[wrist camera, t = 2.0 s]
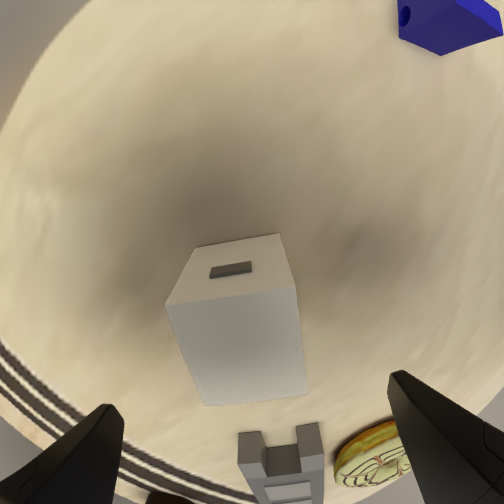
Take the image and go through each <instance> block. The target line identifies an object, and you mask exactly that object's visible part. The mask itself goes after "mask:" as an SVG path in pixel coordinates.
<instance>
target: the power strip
mask: <svg viewBox="0 0 504 504" xmlns="http://www.w3.org/2000/svg"><path fill="white" fill-rule="evenodd" d="M296 432H297V439H298V444H295V445H288V446H281V447H273V448H266V447H265V444H264V441H263V438H262V435H261V432H260V431H259V432H249V433H239V437H238V466H239V468H240V470H241V472H242V474H243V475H244V477H245V479H246V481H247V483H248V484H249V486H250V488H251V490H252V492H253V493H254V495H255V497H256V498H257V500H258V502H259V503H260V504H323V494H324V451H323V446H322V441H321V436H320V431H319V426H318V423H314V424H308V425H302V426H296Z"/></svg>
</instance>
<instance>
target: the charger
mask: <svg viewBox="0 0 504 504" xmlns="http://www.w3.org/2000/svg"><path fill="white" fill-rule="evenodd" d="M164 306H165V309H166V312H167V315H168V318H169V320H170V323H171V326H172V329H173V331H174V334H175V336H176V339H177V342H178V344H179V347H180V349H181V352H182V354H183V357H184V359H185V362H186V364H187V366H188V369H189V371H190V374H191V376H192V378H193V381H194V383H195V385H196V387H197V390H198V392H199V394H200V396H201V399H202V401H203V403H204V405H205V406H218V405H231V404H241V403H251V402H260V401H267V400H275V399H282V398H288V397H294V396H300V395H306V394H308V391H307V381H306V371H305V361H304V352H303V343H302V335H301V326H300V318H299V310H298V302H297V294H296V287H295V283H294V280H293V276H292V273H291V270H290V267H289V263H288V260H287V257H286V254H285V251H284V247H283V244H282V241H281V238H280V235H279V233H277V234H271V235H266V236H260V237H254V238H248V239H243V240H237V241H231V242H226V243H220V244H215V245H209V246H204V247H198V248H195V249H194V251H193V253H192V255H191V256H190V258H189V260H188V262H187V264H186V266H185V267H184V269H183V271H182V273H181V275H180V277H179V279H178V280H177V282H176V284H175V286H174V288H173V290H172V292H171V294H170V296H169V298H168V299H167V301H166V303H165V305H164Z"/></svg>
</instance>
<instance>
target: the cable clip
mask: <svg viewBox="0 0 504 504" xmlns="http://www.w3.org/2000/svg"><path fill="white" fill-rule="evenodd" d="M397 2H398V20H399V38H400V39H403V40H406V41H408V42H411V43H413V44H415V45H418V46H420V47H422V48H425V49H427V50H429V51H431V52H433V53H435V54H438V55H440V56H442V55H445V54H448V53H450V52H453V51H456V50H459V49H461V48H464V47H467V46H470V45H473V44H476V43H479V42H483V41H486V40H489V39H492V38H496V37H499V36H503V35H504V34H503V29H502V24H501V19H500V14H499V11H497V10H496V9H495V8H493V7H492V6H491V5H489V4H488V3H487V2H485V1H484V0H397Z"/></svg>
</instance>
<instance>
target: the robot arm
mask: <svg viewBox="0 0 504 504" xmlns="http://www.w3.org/2000/svg"><path fill="white" fill-rule="evenodd" d="M387 395H388V399H389V402H390V406H391V409H392V413H393V416H394V420H395V423H396V427H397V431H398V434H399V437H400V440H401V442H402V445H403V447H404V450H405V452H406V454H407V457H408V459H409V462H410V465H411V467H412V470H413V472H414V475H415V478H416V480H417V483H418V486H419V488H420V491H421V494H422V496H423V499H424V502H425V504H504V432H502V431H501V430H499V429H497V428H495V427H493V426H492V425H490V424H489V423H487V422H485V421H484V422H483V420H482V419H480V418H479V417H477V416H476V415H474V414H472V413H471V412H469V411H468V410H466V409H464V408H463V407H461V406H460V405H458V404H456V403H455V402H453V401H452V400H450V399H448V398H447V397H445V396H444V395H442V394H441V393H439V392H437V391H436V390H434V389H433V388H431V387H430V386H428V385H426V384H425V383H423V382H422V381H420V380H419V379H417V378H415V377H414V376H412V375H411V374H409V373H408V372H406V371H404V370H399V371H396V372H392V373H391V374H390V377H389V383H388V389H387ZM123 433H124V420H123V418H122V416H121V415H120V413H119V412H118V411H117V409H116V408H115V406H114V405H112V404H101V405H100V406H99V407H97V408H96V409H95V410H94V411H92V412H91V413H90V414H89V415H88V416H86V417H85V418H84V419H83V420H82V421H80V422H79V423H78V424H77V425H75V426H74V427H73V428H72V429H70V430H69V431H68V432H67V433H66V434H64V435H63V436H62V437H61V438H59V439H58V440H57V441H56V442H54V443H53V444H52V445H51V446H49V447H48V448H47V449H46V450H44V451H43V452H42V453H41V454H39V455H38V456H37V457H36V458H34V459H33V460H32V461H31V462H29V463H28V464H26V465H25V466H24V467H22V468H21V469H20V470H18V471H16V472H15V473H13V474H12V475H10V476H9V477H7V478H6V479H4V480H2V481H0V504H112V501H113V496H114V491H115V485H116V480H117V475H118V470H119V465H120V460H121V451H122V441H123Z"/></svg>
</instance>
